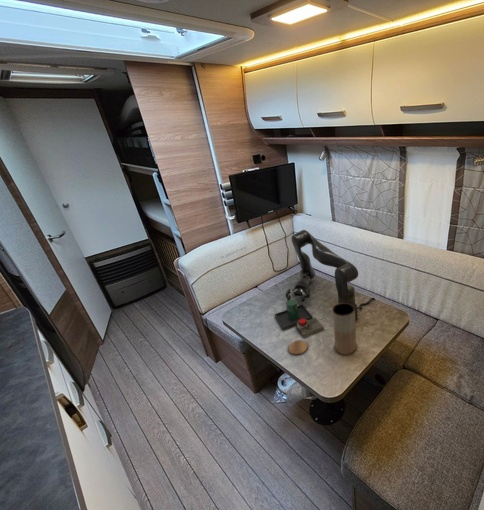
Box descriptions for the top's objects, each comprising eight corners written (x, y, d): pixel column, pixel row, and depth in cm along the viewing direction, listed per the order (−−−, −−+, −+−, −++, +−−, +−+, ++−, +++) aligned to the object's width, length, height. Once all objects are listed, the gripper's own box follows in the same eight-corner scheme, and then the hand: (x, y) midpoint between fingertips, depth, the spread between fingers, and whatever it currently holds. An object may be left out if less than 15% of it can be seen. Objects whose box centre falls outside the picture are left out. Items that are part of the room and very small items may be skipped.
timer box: (315, 320, 156) (314, 314, 154) (323, 329, 148) (322, 323, 147) (295, 327, 151) (294, 321, 149) (302, 338, 143) (301, 331, 141)
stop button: (304, 320, 150) (304, 317, 150) (307, 324, 148) (307, 321, 147) (298, 322, 149) (298, 320, 148) (301, 326, 146) (300, 323, 145)
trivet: (303, 339, 142) (302, 338, 142) (310, 350, 135) (310, 349, 135) (286, 346, 138) (286, 345, 138) (292, 357, 131) (292, 356, 131)
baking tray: (302, 306, 168) (302, 304, 168) (312, 319, 157) (312, 316, 156) (275, 316, 161) (274, 314, 160) (283, 330, 149) (283, 327, 149)
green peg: (296, 312, 162) (294, 298, 158) (300, 317, 158) (298, 303, 153) (286, 316, 160) (284, 301, 156) (290, 321, 155) (288, 306, 151)
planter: (337, 339, 141) (335, 301, 132) (357, 340, 139) (356, 303, 130) (333, 353, 132) (330, 314, 123) (354, 355, 130) (352, 316, 121)
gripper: (290, 280, 176) (282, 294, 162) (312, 281, 174) (306, 295, 160) (291, 291, 179) (284, 305, 165) (313, 291, 178) (307, 306, 163)
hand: (295, 300), depth 162 cm, fingers open, 8 cm apart
